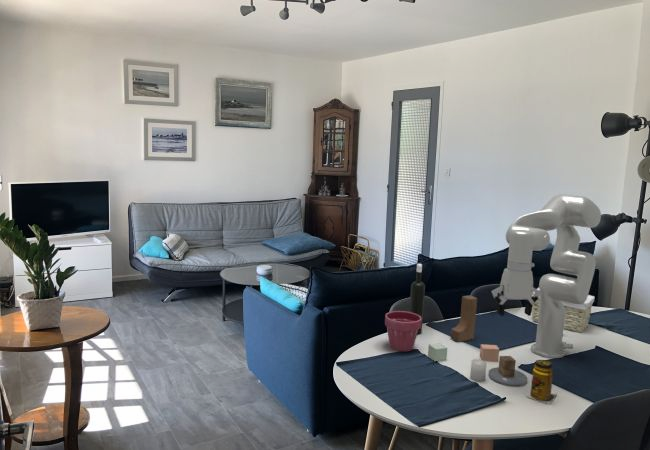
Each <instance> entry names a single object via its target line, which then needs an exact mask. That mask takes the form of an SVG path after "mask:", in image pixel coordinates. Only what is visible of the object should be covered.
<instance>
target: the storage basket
mask: <svg viewBox="0 0 650 450" xmlns="http://www.w3.org/2000/svg"><path fill="white" fill-rule="evenodd" d="M536 289H537V290H539V287H537V288H536ZM534 294H535V292H533V294H532V296H534ZM594 302H595V296H594V295H591V294H588V297H587V299H586V301H585V302H584V303H583V304H573V303H569V302H564V301H562V303H563V305H564V308H565V321H564V329H563V330H569V331H572V332H577V333H582V332H583V331H584V330H585V329H586V328H587V327H588V325H589V321H590V317H591V313H592V306H593V303H594ZM539 307H540V296H539V297H538V300H537V301H536V302H534V305H532V312H531V316H532V317H531V318H532V319H531V320H532V322H536V323H538V316H539Z"/></svg>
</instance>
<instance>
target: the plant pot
mask: <svg viewBox="0 0 650 450" xmlns="http://www.w3.org/2000/svg"><path fill="white" fill-rule="evenodd" d="M421 320H422V318H421V316H419V315H417V314H415V313H411V312H409V311H403V310H394V311H390V312H387V313H385V316H384V325H385V327H386V330H387V335H388V341H389V347H390V348H391V349H392V350H394V351H398V352H411V351H413V350H414V349H413V348H414V346H415V343H416V339H417V333H418V329H420V328H421Z"/></svg>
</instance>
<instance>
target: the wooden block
mask: <svg viewBox="0 0 650 450" xmlns="http://www.w3.org/2000/svg"><path fill="white" fill-rule="evenodd" d="M477 303H478V297H475V296H473V295H462V297H461V306H460V308H461V309H460V319H459V323H458V324H457V325H456V326H455V327H452V328H451V329H450V340H452V341H455V342H457V343H459V342H465V341H466V342H467V341H471V339H472V340H474V338H475V329H476V327H475V326H476V318H477V317H476V316H477V307H478V304H477Z"/></svg>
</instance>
